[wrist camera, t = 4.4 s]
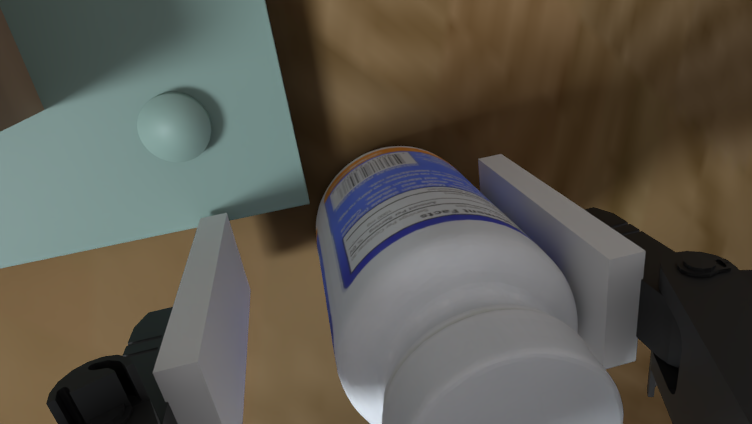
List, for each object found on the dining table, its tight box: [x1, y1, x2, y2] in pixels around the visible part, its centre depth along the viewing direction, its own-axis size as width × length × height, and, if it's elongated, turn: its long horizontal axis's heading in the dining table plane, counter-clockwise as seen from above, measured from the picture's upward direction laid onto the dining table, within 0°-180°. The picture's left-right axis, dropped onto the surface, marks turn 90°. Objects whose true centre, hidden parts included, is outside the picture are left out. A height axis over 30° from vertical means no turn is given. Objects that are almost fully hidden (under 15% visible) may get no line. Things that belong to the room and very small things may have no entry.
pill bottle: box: [316, 146, 623, 424], centre depth 13 cm, size 5×5×10 cm
